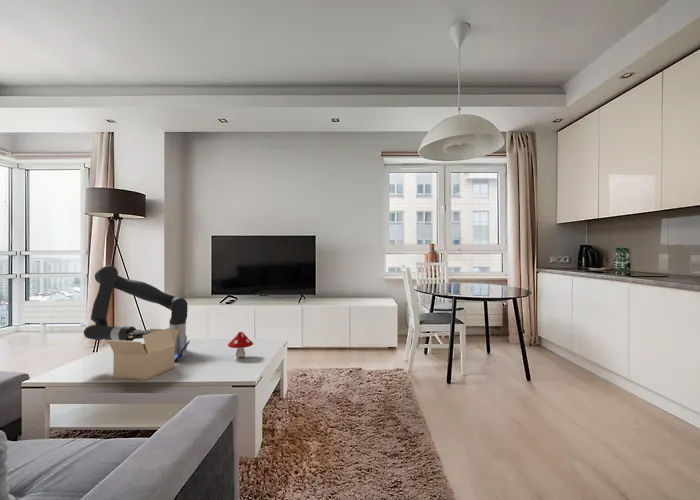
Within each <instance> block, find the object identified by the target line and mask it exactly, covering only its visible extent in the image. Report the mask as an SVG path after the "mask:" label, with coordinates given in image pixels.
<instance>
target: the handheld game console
mask: <svg viewBox="0 0 700 500" xmlns="http://www.w3.org/2000/svg"><path fill="white" fill-rule="evenodd" d="M190 341H191V340H187V344H186V345H185V346H184V348H183V349H182V351H181V352H180V353H174V364H176V363H177V364H178V361H180V359H181V358H182V357H183V353H185V351H184V350H185V349H186V347H188V345H189V344H190Z"/></svg>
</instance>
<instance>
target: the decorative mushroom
mask: <svg viewBox="0 0 700 500" xmlns="http://www.w3.org/2000/svg"><path fill="white" fill-rule="evenodd" d="M253 345H254V342H253V341H252V340H250V339H249V337H248V336H247V335H246V334H245V333H244V332H243V331H239V332H237V334H236V335H235V336H234V337H233V339H232V340H231V341H230V342H228V344H227V347H228V348H230V349H236V352H235V357H236V358H237V357H243V356H244V357H245V356H246V351H245V348H249V347H252V346H253ZM244 357H243V358H244Z"/></svg>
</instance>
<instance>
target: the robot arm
mask: <svg viewBox="0 0 700 500" xmlns="http://www.w3.org/2000/svg"><path fill="white" fill-rule="evenodd" d="M94 279H95V281H96V282H97V283H98V284H99V288H98V291H97V294H96V296H95V299H94V302H93V305H92V310H91V315H90V320H91V321H93V322H94V324H91V325H87V327H85V328H84V330H83V337H85V338H86V339H87V340H96V341H103V340H106V341H108V340H121V341H135V340H138V339H144V338H143V335H146V334H149V333H153V332H150V331H149V330H150V329H145V330H143V329H136V327H135V326H126V325H122V326H121V325H119V326H116V325H115V326H114V325H110V326H109V324H108V318H107V317H108V314H109V309H110V302H111V297H112V292H113V290H114V289H116V290H119V291H121V292H123V293H126V294H128V295H130V296H134V297H136V298H138V299H140V300H144V301H147V302H150V303H154V304H157V305H160V306H162V307H164V308H166V309H168V310H170V311H171V314H170V315H171V317H170V319H169V327H168V328H170V330H179V332H178V335H177V338H176V341H175V344H174V345H175V347H174V354H180V352H181V351H182V349H183V348H184V346H185V345H186V344H187V343H188V336H187V319H188V307H189V306H188V301H187V300H186V299H185V298H183V297H180V296H175V295H171V294H169V293H165V292H164V291H162V290H160V289H159V288H158V287H155V286H153V285H151V284H150V283H147V282H144V281H141V280H136V279H129V278H126V277H123V276H121V275H119V272H118V269H117V268H116V266H113V265H105V266H103V267H101V268H99V269H98V270H97V271H96V272H95V274H94ZM187 347H188V346H187ZM187 347H186V349H185V350H184V352H187V351H188V348H187Z"/></svg>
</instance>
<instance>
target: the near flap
mask: <svg viewBox="0 0 700 500" xmlns="http://www.w3.org/2000/svg"><path fill="white" fill-rule="evenodd" d="M142 339H143V341H144V343H145V345H146V348H147V352H148V353H151V352H154V351H157V350H160V349H162V348H165V347H168V346H171V345H174V341H173V338H172V335H171V331H170V328H169V327H168V328H164V329H163V330H160V331H156V332H153V333H149V334H146V335H143V338H142Z"/></svg>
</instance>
